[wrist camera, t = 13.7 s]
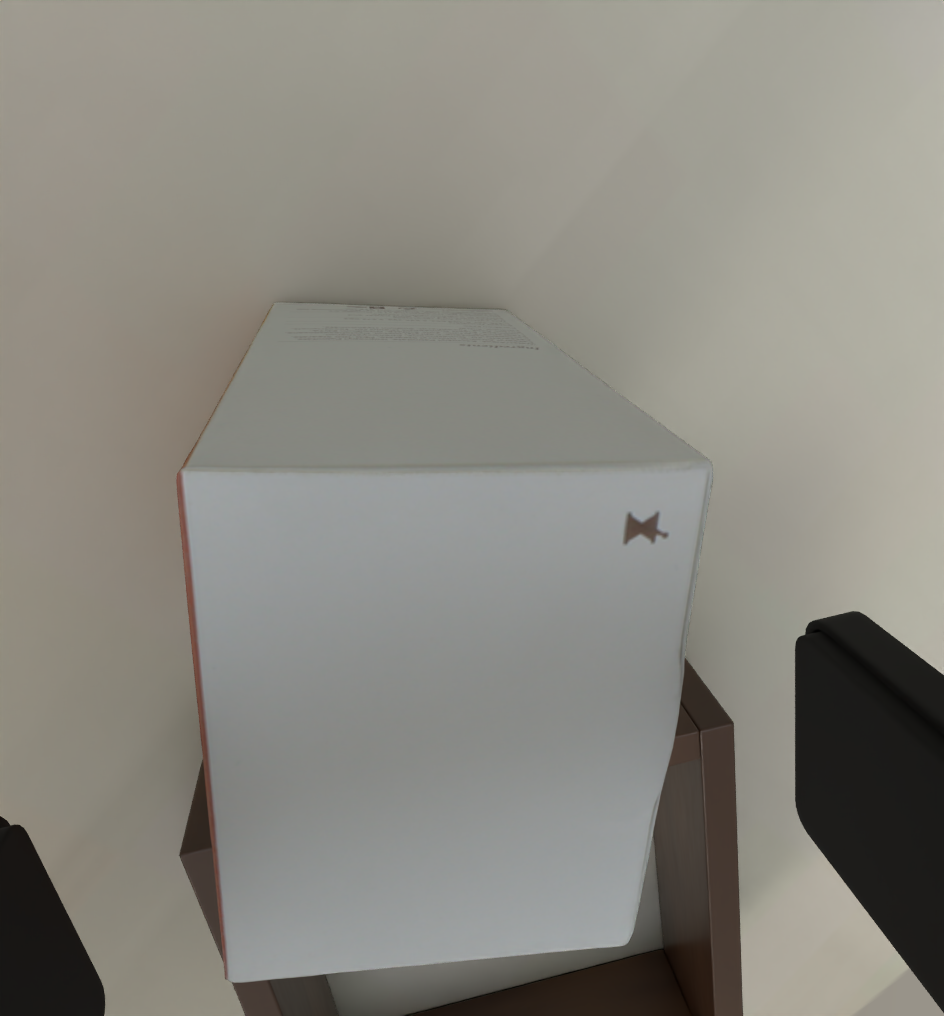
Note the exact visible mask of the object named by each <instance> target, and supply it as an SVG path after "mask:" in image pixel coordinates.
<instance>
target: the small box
mask: <svg viewBox="0 0 944 1016" xmlns="http://www.w3.org/2000/svg"><path fill="white" fill-rule="evenodd" d="M176 483H177V495H178V506H179V516H180V527H181V538H182V548H183V559H184V570H185V581H186V592H187V603H188V613H189V624H190V634H191V644H192V654H193V664H194V674H195V684H196V693H197V704H198V714H199V724H200V734H201V742H202V751H203V763H204V775H205V786H206V796H207V806H208V816H209V826H210V836H211V843H212V852H213V863H214V873H215V882H216V892H217V903H218V913H219V922H220V932H221V942H222V951H223V960H224V969H225V979H226V980H228V981H231V982H234V983H241V982H253V981H262V980H271V979H283V978H294V977H305V976H315V975H323V974H332V973H340V972H354V971H364V970H374V969H383V968H394V967H407V966H418V965H428V964H438V963H448V962H458V961H468V960H478V959H488V958H498V957H509V956H519V955H530V954H540V953H550V952H561V951H571V950H581V949H592V948H604V947H618V946H623V945H626V944H627V943H628V942H629V940H630V938H631V936H632V934H633V931H634V929H635V923H636V917H637V913H638V909H639V905H640V900H641V894H642V889H643V883H644V878H645V873H646V869H647V864H648V859H649V854H650V848H651V842H652V837H653V831H654V826H655V820H656V816H657V811H658V806H659V801H660V795H661V791H662V787H663V783H664V779H665V775H666V772H667V768H668V764H669V760H670V756H671V753H672V749H673V744H674V738H675V733H676V727H677V722H678V716H679V708H680V700H681V693H682V685H683V678H684V660H685V651H686V642H687V635H688V629H689V623H690V617H691V610H692V603H693V597H694V591H695V586H696V580H697V575H698V568H699V560H700V553H701V546H702V540H703V534H704V529H705V523H706V517H707V511H708V505H709V499H710V493H711V488H712V483H713V465H712V462H711V460H709V459H708V458H707V457H705V456H704V455H702V454H701V453H700V452H698V451H697V450H695V449H694V448H693V447H691V446H690V445H689V444H687V443H686V442H685V441H683V440H682V439H680V438H679V437H678V436H676V435H675V434H674V433H672V432H671V431H670V430H668V429H667V428H666V427H664V426H663V425H661V424H660V423H659V422H657V421H656V420H655V419H653V418H652V417H651V416H649V415H648V414H647V413H645V412H644V411H642V410H641V409H640V408H638V407H637V406H636V405H634V404H633V403H632V402H630V401H629V400H627V399H626V398H625V397H623V396H622V395H621V394H619V393H618V392H617V391H615V390H614V389H613V388H611V387H610V386H609V385H607V384H606V383H604V382H603V381H602V380H600V379H599V378H598V377H596V376H595V375H594V374H592V373H591V372H590V371H588V370H587V369H586V368H584V367H583V366H582V365H580V364H579V363H578V362H576V361H575V360H574V359H573V358H571V357H570V356H568V355H567V354H566V353H564V352H563V351H562V350H561V349H559V348H558V347H557V346H555V345H554V344H553V343H551V342H550V341H549V340H547V339H546V338H545V337H543V336H542V335H541V334H539V333H538V332H536V331H535V330H533V329H532V328H531V327H530V326H528V325H527V324H525V323H524V322H522V321H521V320H520V319H518V318H517V317H516V316H514V315H513V314H512V313H510V312H509V311H507V310H496V309H461V308H429V307H399V306H371V305H344V304H317V303H287V302H277V303H274V304H273V305H272V307H271V308H270V310H269V312H268V313H267V315H266V317H265V319H264V321H263V323H262V325H261V327H260V329H259V330H258V332H257V334H256V336H255V338H254V340H253V341H252V343H251V345H250V347H249V349H248V350H247V352H246V354H245V355H244V357H243V359H242V361H241V363H240V364H239V366H238V368H237V370H236V371H235V373H234V375H233V377H232V379H231V381H230V383H229V384H228V386H227V388H226V390H225V391H224V393H223V395H222V397H221V399H220V401H219V402H218V404H217V406H216V408H215V410H214V412H213V414H212V415H211V417H210V419H209V421H208V422H207V424H206V426H205V428H204V430H203V431H202V433H201V435H200V437H199V439H198V440H197V442H196V444H195V445H194V447H193V449H192V450H191V452H190V454H189V455H188V457H187V458H186V460H185V462H184V465H183V466H182V468H181V469H180V470H179V472H178V473H177V481H176Z"/></svg>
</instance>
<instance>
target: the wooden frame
mask: <svg viewBox="0 0 944 1016" xmlns="http://www.w3.org/2000/svg"><path fill="white" fill-rule="evenodd" d="M654 841H655V853H656V864H657V876H658V887H659V898H660V910H661V921H662V933H663V944H664V950H663V949H660V950H657V951H653V952H649V953H645V954H641V955H638V956H634V957H630V958H626V959H622V960H619V961H615V962H611V963H607V964H603V965H599V966H596V967H592V968H588V969H584V970H580V971H577V972H573V973H569V974H565V975H561V976H558V977H554V978H550V979H546V980H542V981H538V982H535V983H531V984H527V985H523V986H519V987H516V988H512V989H508V990H504V991H500V992H497V993H493V994H489V995H485V996H481V997H477V998H474V999H470V1000H466V1001H462V1002H458V1003H455V1004H451V1005H447V1006H443V1007H439V1008H436V1009H432V1010H428V1011H424V1012H420V1013H416V1014H413V1015H409V1016H743V1005H742V973H741V941H740V909H739V878H738V846H737V814H736V783H735V751H734V723H733V721H732V720H731V719H730V717H729V716H728V715H727V713H726V712H725V711H724V709H723V708H722V706H721V705H720V704H719V702H718V701H717V700H716V698H715V697H714V696H713V694H712V693H711V692H710V690H709V689H708V688H707V686H706V685H705V684H704V682H703V681H702V680H701V678H700V677H699V676H698V674H697V673H696V672H695V670H694V669H693V667H692V666H691V665H690V663H689V662H688V661H687V659H686V658H685V660H684V678H683V685H682V693H681V700H680V708H679V716H678V722H677V727H676V733H675V738H674V744H673V749H672V753H671V756H670V760H669V764H668V768H667V772H666V775H665V779H664V783H663V787H662V791H661V795H660V801H659V806H658V811H657V816H656V820H655V826H654ZM179 856H180V858H181V861H182V863H183V866H184V868H185V870H186V873H187V875H188V878H189V880H190V882H191V885H192V887H193V890H194V892H195V895H196V897H197V899H198V902H199V904H200V907H201V909H202V911H203V914H204V916H205V919H206V921H207V924H208V926H209V928H210V931H211V933H212V936H213V938H214V940H215V943H216V945H217V948H218V950H219V953H220V955H221V957H222V960H223V951H222V942H221V932H220V922H219V913H218V903H217V892H216V882H215V873H214V863H213V852H212V843H211V836H210V826H209V816H208V806H207V796H206V786H205V775H204V763H203V760H202V764H201V768H200V772H199V776H198V780H197V784H196V788H195V793H194V797H193V801H192V805H191V809H190V813H189V817H188V821H187V825H186V830H185V834H184V838H183V842H182V846H181V850H180V855H179ZM223 962H224V960H223ZM232 984H233V986H234V989H235V991H236V994H237V996H238V999H239V1001H240V1003H241V1006H242V1008H243V1011H244V1013H245V1015H246V1016H339V1015H338V1012H337V1009H336V1006H335V1003H334V1000H333V998H332V995H331V992H330V989H329V986H328V983H327V980H326V977H325V974H323V975H315V976H305V977H294V978H283V979H271V980H262V981H253V982H241V983H234V982H232Z"/></svg>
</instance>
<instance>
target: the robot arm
mask: <svg viewBox="0 0 944 1016" xmlns="http://www.w3.org/2000/svg"><path fill="white" fill-rule="evenodd" d="M795 801H796V808H797V812H798V815H799V818H800V821H801V823H802V825H803V827H804V829H805V830H806V832H807V833H808V835H809V836H810V837H811V839H812V840H813V841H814V842H815V844H816V845H817V846H818V848H819V849H820V850H821V852H822V853H823V854H824V856H825V857H826V858H827V860H828V861H829V862H830V864H831V865H832V866H833V868H834V869H835V870H836V871H837V873H838V874H839V875H840V877H841V878H842V879H843V881H844V882H845V883H846V885H847V886H848V887H849V889H850V890H851V891H852V893H853V894H854V895H855V897H856V898H857V899H858V900H859V902H860V903H861V904H862V906H863V907H864V908H865V910H866V911H867V912H868V914H869V915H870V916H871V918H872V919H873V920H874V922H875V923H876V924H877V925H878V927H879V928H880V929H881V931H882V932H883V933H884V935H885V936H886V937H887V939H888V940H889V941H890V943H891V944H892V945H893V947H894V948H895V949H896V951H897V952H898V953H899V954H900V956H901V957H902V958H903V960H904V961H905V962H906V964H907V965H908V966H909V968H910V969H911V970H912V971H913V973H914V974H915V976H916V977H917V978H918V980H919V981H920V982H921V983H922V985H923V986H924V987H925V989H926V990H927V991H928V993H929V994H930V995H931V996H932V998H933V999H934V1001H935V1002H936V1003H937V1005H938V1006H939V1007H940V1008H941V1010H942V1011H943V1012H944V675H943V674H941V673H940V672H939V671H937V670H936V669H935V668H933V667H932V666H931V665H930V664H928V663H927V662H926V661H924V660H923V659H922V658H920V657H919V656H918V655H916V654H915V653H914V652H913V651H911V650H910V649H909V648H907V647H906V646H905V645H903V644H902V643H901V642H900V641H898V640H897V639H896V638H894V637H893V636H892V635H890V634H889V633H888V632H886V631H885V630H884V629H883V628H881V627H880V626H879V625H877V624H876V623H875V622H873V621H872V620H871V619H870V618H868V617H867V616H866V615H864V614H862V613H860V612H855V611H852V612H848V613H844V614H839V615H835V616H831V617H827V618H823V619H819V620H814V621H812V622H810V623H809V624H808V626H807V628H806V634H805V635H803V636H800V637H799V638H798V639H797V641H796V646H795ZM104 1013H105V994H104V988H103V985H102V982H101V980H100V978H99V976H98V974H97V972H96V970H95V968H94V966H93V964H92V962H91V960H90V958H89V956H88V954H87V952H86V950H85V948H84V946H83V944H82V942H81V940H80V938H79V936H78V934H77V932H76V930H75V928H74V926H73V924H72V922H71V920H70V918H69V916H68V914H67V912H66V910H65V908H64V906H63V904H62V902H61V900H60V898H59V896H58V894H57V892H56V890H55V888H54V886H53V884H52V882H51V880H50V878H49V876H48V874H47V872H46V870H45V868H44V866H43V864H42V862H41V860H40V858H39V856H38V854H37V852H36V849H35V847H34V845H33V843H32V841H31V839H30V837H29V835H28V833H27V832H26V830H25V829H24V828H23V827H22V826H20V825H11V826H10V824H9V823H8V821H7V820H5V819H4V818H3V817H1V816H0V1016H104Z"/></svg>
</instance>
